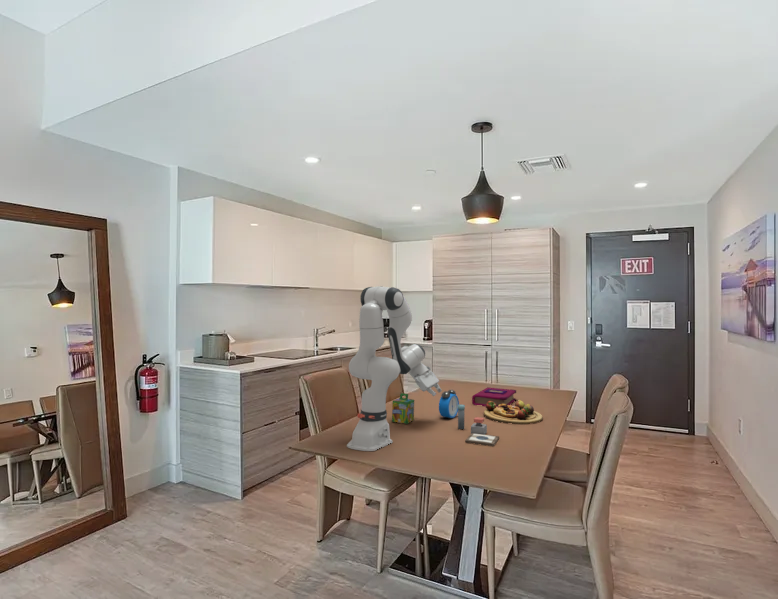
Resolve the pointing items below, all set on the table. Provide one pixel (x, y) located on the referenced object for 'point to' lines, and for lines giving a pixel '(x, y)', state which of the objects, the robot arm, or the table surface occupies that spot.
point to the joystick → (461, 416)
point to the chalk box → (403, 409)
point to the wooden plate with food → (512, 413)
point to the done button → (478, 421)
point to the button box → (479, 429)
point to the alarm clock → (448, 404)
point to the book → (494, 396)
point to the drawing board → (482, 439)
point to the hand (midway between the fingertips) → (437, 393)
